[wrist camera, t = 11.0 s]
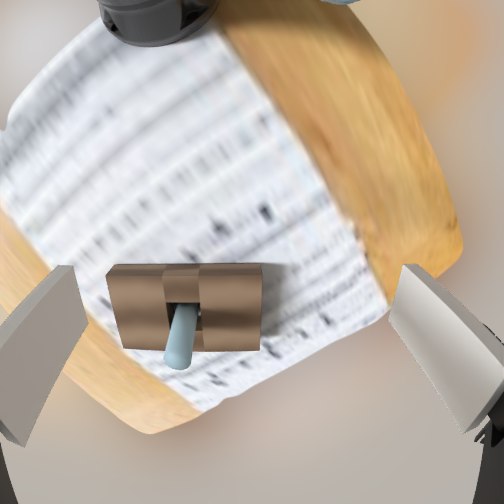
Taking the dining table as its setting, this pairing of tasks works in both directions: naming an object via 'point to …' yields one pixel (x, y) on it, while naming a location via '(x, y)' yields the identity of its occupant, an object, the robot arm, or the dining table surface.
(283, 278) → the dining table surface
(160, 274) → the hole block
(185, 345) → the peg
